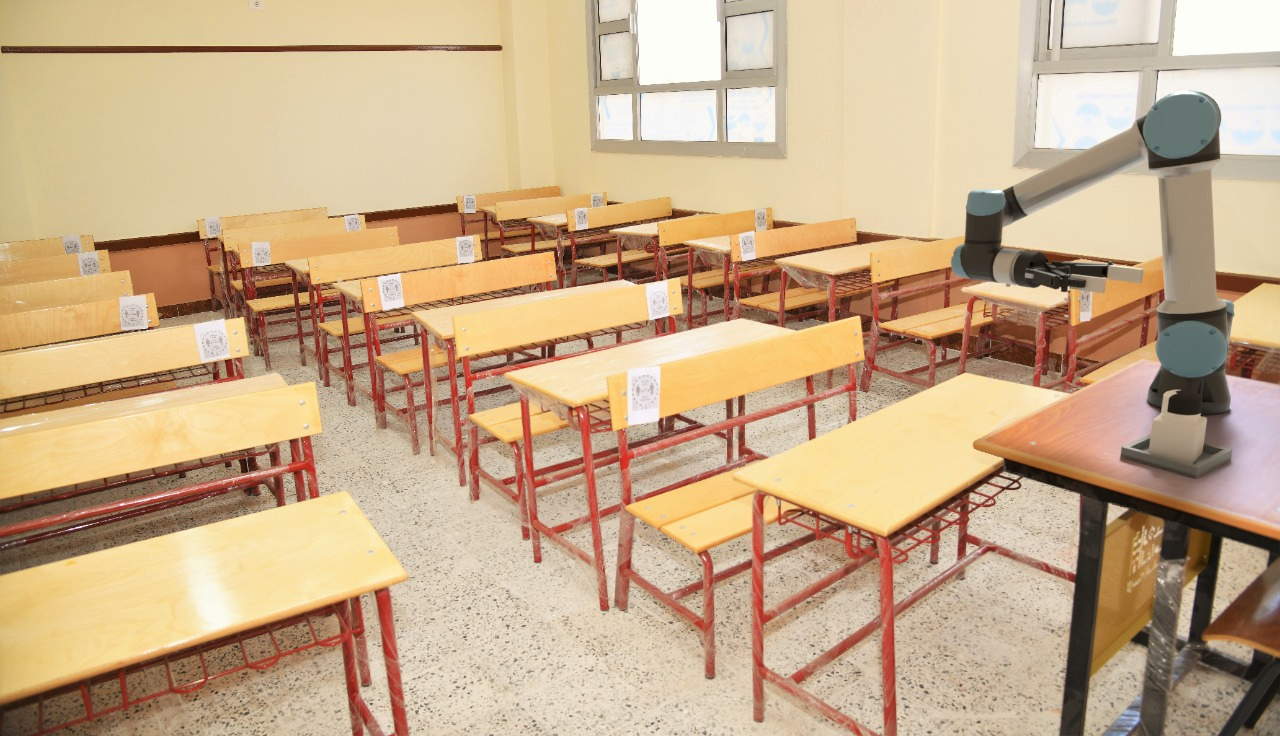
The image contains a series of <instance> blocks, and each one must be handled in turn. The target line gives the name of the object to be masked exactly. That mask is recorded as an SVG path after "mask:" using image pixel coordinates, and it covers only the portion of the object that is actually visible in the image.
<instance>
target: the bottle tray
mask: <svg viewBox="0 0 1280 736" xmlns="http://www.w3.org/2000/svg"><path fill="white" fill-rule="evenodd" d="M1150 437H1151V433H1150V434H1148V435H1145V436H1143V437H1141V438H1138V439H1136V440H1134V441H1132V442H1130V443H1128V444H1125V445H1123V446H1121V449H1120V456H1119V457H1120V458H1122V457H1123V458H1122V459H1125V458H1126V460H1130V461H1133V462H1137V463H1140V464H1143V465H1146V464H1147V466H1151V467H1154V468H1158V469H1160V470H1164V469H1165V471H1168V472H1172V473H1176V474H1178V475H1182V476H1185V477H1189V478H1193V479H1198V478H1200V477H1202V476H1203V475H1205V474H1208V473H1209V472H1210V471H1212V470H1215V469H1217V468H1218V467H1220V466H1223V465H1224V464H1226V463H1228V462H1230V461H1231V460H1232V454H1233V449H1230V448H1226V447H1223V446H1220V445H1215V444H1210V443H1207V442H1204V445H1203V452H1202V454H1201V455H1200V456H1199V458H1198V459H1197V460H1196V461H1195V462H1194V463H1193V464H1190V463H1186V462H1183V461H1179V460H1175V459H1172V458H1168V457H1164V456H1161V455H1157V454H1153V453H1150V452H1149V445H1150Z"/></svg>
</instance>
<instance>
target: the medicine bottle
mask: <svg viewBox="0 0 1280 736" xmlns="http://www.w3.org/2000/svg"><path fill="white" fill-rule="evenodd" d="M1202 401H1203V398H1202V397H1201V395H1199V394H1197V393H1195V392H1192V391H1188V390H1171V391H1167V392H1165V393H1164V394H1163V402H1162V408H1161V412H1160V413H1159V414H1158V415H1157V416H1156V417H1154V419H1152V423H1151V431H1150V434H1151V437H1150V445H1149V452H1150V453H1153V454H1157V455H1161V456H1164V457H1168V458H1172V459H1175V460H1179V461H1183V462H1186V463H1190V464H1193V463H1194V462H1195V461H1196V460H1197V459H1198V458H1199V456H1200V455H1201V454H1202V452H1203V445H1204V443H1205V437H1206V429H1207V424H1208V423H1207V422H1208V418H1207V417H1205V416H1201V415H1202V414H1201V408H1202Z"/></svg>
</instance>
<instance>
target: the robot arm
mask: <svg viewBox="0 0 1280 736" xmlns="http://www.w3.org/2000/svg"><path fill="white" fill-rule="evenodd" d="M1221 122H1222V113H1221V109H1220V107H1219V104H1218V103H1217V101H1216V100H1215V99H1214V98H1213V97H1211V96H1210V95H1209V94H1207V93H1205V92H1202V91H1197V90H1179V91H1176V92H1173V93H1169V94H1167V95H1164V96H1163V97H1162V98H1160V99H1159V100H1157V101H1156V102H1155V103H1154V104H1153V105H1152V106H1151V108H1150V109H1149V110H1148V112H1147V113H1146V114H1145V115H1143V116H1142V117H1140V118H1137V119H1135V120H1134V121H1133V123H1132V126H1131V127H1130V128H1128V129H1126V130H1124V131H1122V132H1120V133H1118V134H1116V135H1114V136H1111V137H1110V138H1107V139H1105V140H1103V141H1101V142H1100V143H1097V144H1095V145H1093V146H1092V147H1089V148H1087V149H1085V150H1083V151H1081V152H1079V153H1077V154H1075V155H1073V156H1071V157H1069V158H1067V159H1064V160H1063V161H1060V162H1058V163H1056V164H1054V165H1052V166H1050V167H1048V168H1046V169H1044V170H1041V171H1039V172H1038V173H1035V174H1034V175H1032V176H1030V177H1028V178H1026V179H1023V180H1021V181H1019V182H1018V183H1016V184H1013V185H1011V186H1009V187H1007V188H1005V189H1003V190H1001V189H994V188H993V189H987V188H985V189H983V188H982V189H974V190H970V191H969V193H968V195H967V200H966V205H965V211H966V213H965V231H964V242H963V243H961V244H959V245H957V246H956V247H955V249H954V250H953V255H952V256H951V259H950V266H951V269H952V272H953V273H954V275H956V276H957V277H959V278H964V279H968V280H971V281H979V282H980V281H982V282H990V283H998V284H1005V287H1007V288H1010V287H1011V286H1019V287H1022V288H1023V287H1024V288H1029V289H1030V288H1031V289H1036V288H1039V287H1040V286H1043V287H1047V288H1050V289H1053V290H1059V289H1060V292H1061V293H1068V290H1070V289H1071V290H1075V291H1076V290H1077V291H1084V292H1091V293H1098V294H1099V293H1100V294H1104V293H1106V284H1107V280H1111V281H1112V280H1113V281H1119V282H1121V281H1122V282H1128V283H1129V282H1130V283H1136V284H1142V283H1143V278H1144V271H1145V269H1144V268H1141V267H1140V268H1139V267H1129V266H1121V265H1119V266H1118V265H1114V263H1113V261H1111V260H1108V261H1107V262H1105V263H1104V262H1081V261H1079V262H1078V261H1076V262H1075V261H1066V260H1061V261H1059V260H1052V261H1051V262H1050V261H1049V260H1048V259H1049V258H1048V257H1047V256H1046V254H1045V253H1044V252H1042V251H1036V250H1025V249H1019V248H1009V247H1002V240H1003V239H1002V238H1003V237H1002V236H1003V229H1004V227H1007V226H1010V225H1012V224H1013V223H1015V222H1017V221H1020V220H1022V219H1024V218H1026V217H1028V216H1030V215H1032V214H1035V213H1036V212H1039V211H1040V210H1043V209H1045V208H1047V207H1049V206H1052V205H1054V204H1056V203H1058V202H1060V201H1063V200H1064V199H1067V198H1069V197H1071V196H1074V195H1076V194H1078V193H1080V192H1082V191H1085V190H1086V189H1090V188H1091V187H1093V186H1096V185H1098V184H1100V183H1102V182H1104V181H1106V180H1108V179H1111V178H1113V177H1115V176H1118V175H1119V174H1121V173H1124V172H1126V171H1128V170H1130V169H1133V168H1135V167H1137V166H1139V165H1141V164H1143V163H1146V162H1148V163H1147V164H1148V165H1147V166H1148V171H1149V172H1151V174H1154V175H1155V176H1156V177H1157V178H1158V179H1157V181H1158V194H1159V196H1158V199H1159V216H1160V217H1159V218H1160V230H1161V231H1160V232H1161V233H1160V235H1161V250H1162V253H1161V254H1162V267H1163V268H1162V270H1163V271H1162V272H1163V285H1164V287H1163V288H1164V300H1163V301H1162V302H1161V303H1160V304H1159V305H1158V306H1157V307H1156V320H1157V339H1156V341H1155V342H1156V343H1155V354H1156V356H1157V359H1158V361H1159V363H1160V365H1159V368H1158V370H1157V372H1156V374H1155V376H1154V378H1153V380H1152V382H1151V383H1150V386H1149V387H1148V391H1147V396H1146V397H1147V398H1146V400H1147V402H1149V403H1150V404H1152V405H1153V406H1155V407H1158V408H1161V409H1162V402H1163V394H1164V393H1165V392H1167V391H1171V390H1188V391H1192V392H1195V393H1197V394H1199V395H1201V397H1202V398H1203V401H1202V408H1201V415H1216V414H1217V415H1218V414H1222V413H1225V412H1226V413H1227V412H1228V411H1229V410H1230V409H1231V401H1232V398H1231V397H1232V396H1231V392H1230V389H1229V384H1228V380H1227V375H1226V367H1227V366H1226V365H1227V360H1228V355H1229V346H1230V339H1231V332H1232V325H1233V319H1234V317H1235V314H1236V313H1235V304H1234V303H1233V302H1232V301H1231V300H1229V299H1223V298H1220V297H1219V296H1218V295H1217V275H1216V271H1217V270H1216V253H1215V252H1216V251H1215V249H1216V248H1215V230H1214V229H1215V228H1214V207H1213V186H1212V183H1213V181H1212V170H1213V168H1215V166H1216V165H1217V164H1218V163H1219V162H1220V161H1221V144H1220V143H1221V142H1220V139H1221V138H1220V127H1221ZM1068 288H1069V289H1068Z"/></svg>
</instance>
